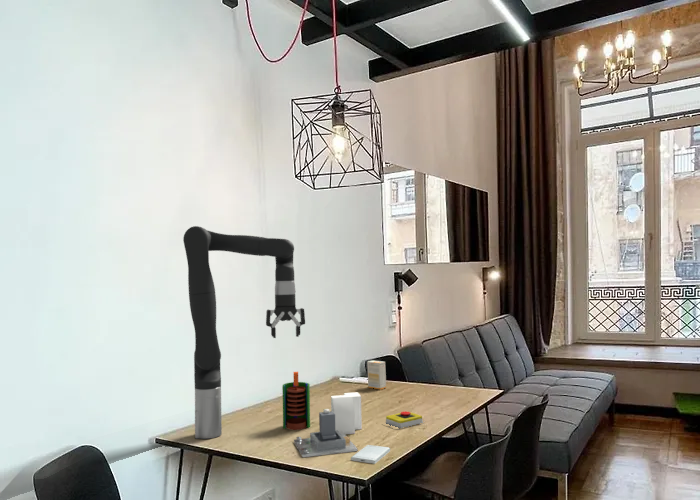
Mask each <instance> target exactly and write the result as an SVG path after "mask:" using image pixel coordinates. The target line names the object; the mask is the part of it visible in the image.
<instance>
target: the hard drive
mask: <svg viewBox="0 0 700 500" xmlns="http://www.w3.org/2000/svg"><path fill="white" fill-rule="evenodd" d="M390 452H391V447H388V446H380V445H371V444H367V445H365V446H364V447H363V448H361V449H360V450H359V451H356V453H355V454H354V455H352V456H351V457H350V461H355V462H361V463H367V464H372V465H373V464H377V463H378V462H380V460H381V459H384V457H385V456H386V455H388V453H390Z"/></svg>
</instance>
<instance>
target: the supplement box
mask: <svg viewBox="0 0 700 500" xmlns="http://www.w3.org/2000/svg"><path fill="white" fill-rule="evenodd" d="M366 362H367V363H366V364H367V388H369V389H373V388H374V389H373V390H380V391H381V390H384V388H385V389H387V375H386V374H387V372H386V361H381V360H373V359H372V360H368V361H366Z"/></svg>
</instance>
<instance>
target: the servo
mask: <svg viewBox="0 0 700 500" xmlns="http://www.w3.org/2000/svg"><path fill="white" fill-rule="evenodd" d="M318 418H319V419H318V421H319V424H318V425H319V429H318V430H319V431H318V432H319V435H320V441H327V440H336V433H335V414H334V413H333V412H332V411H331V410H330V408H325V409H323V412H322V411H321V412H319V413H318Z"/></svg>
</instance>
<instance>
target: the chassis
mask: <svg viewBox="0 0 700 500" xmlns="http://www.w3.org/2000/svg"><path fill="white" fill-rule="evenodd" d="M319 432H320V431H316V432H315V431H314V432H310V433H309V435H310V436H309V437H307V438H306V437H305V438H302V437H301V436H297V437H296V439H293V442H294V445H295V447H296V448H297V451H298V452H299V454H300V455H301V457H302V458H309V457H319V456H328V455H335V454H336V455H337V454H343V453H351V452H352V453H354V452H359V451H358V448H357V447H356V445H355V443H353V442H352V441H351V438H349V436H347V434H342V435H341V434H340V433H339V431H338V430H335V433H336V440H327V441H320V435H319Z"/></svg>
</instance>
